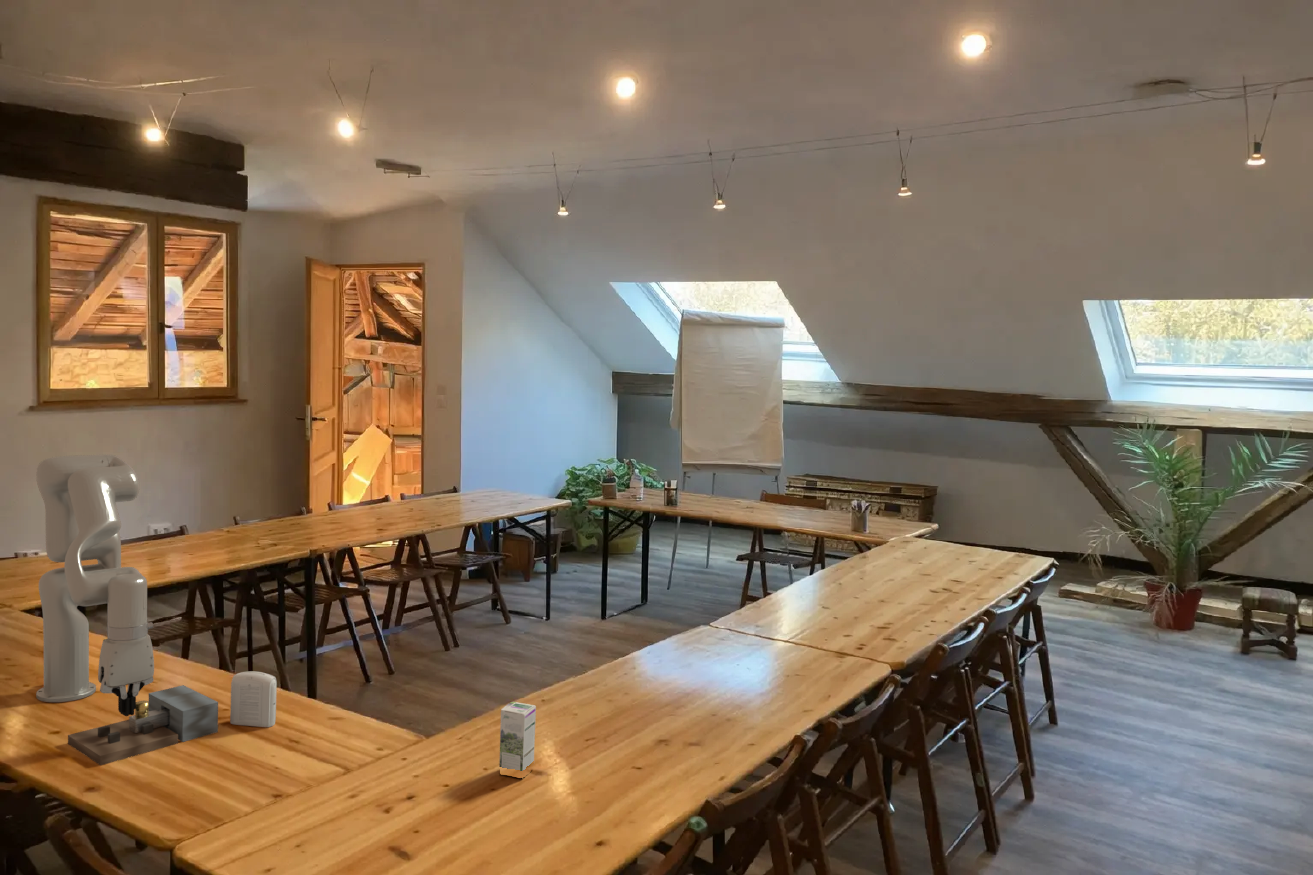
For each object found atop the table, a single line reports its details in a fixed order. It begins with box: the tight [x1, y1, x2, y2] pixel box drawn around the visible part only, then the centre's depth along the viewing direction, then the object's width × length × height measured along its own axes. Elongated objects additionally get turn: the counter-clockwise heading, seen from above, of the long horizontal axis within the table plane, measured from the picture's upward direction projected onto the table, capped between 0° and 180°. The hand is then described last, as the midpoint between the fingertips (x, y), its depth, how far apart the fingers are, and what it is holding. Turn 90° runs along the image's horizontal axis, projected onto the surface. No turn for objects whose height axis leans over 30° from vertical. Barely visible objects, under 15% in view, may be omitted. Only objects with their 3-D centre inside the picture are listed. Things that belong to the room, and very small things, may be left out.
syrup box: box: [498, 701, 537, 771], centre depth 204 cm, size 6×6×14 cm
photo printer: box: [229, 670, 278, 728], centre depth 224 cm, size 10×4×12 cm, turn 86°
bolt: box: [128, 700, 170, 733], centre depth 216 cm, size 12×3×6 cm, turn 142°
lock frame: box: [67, 684, 219, 766], centre depth 214 cm, size 25×16×7 cm, turn 142°
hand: (127, 713), depth 211 cm, fingers closed
